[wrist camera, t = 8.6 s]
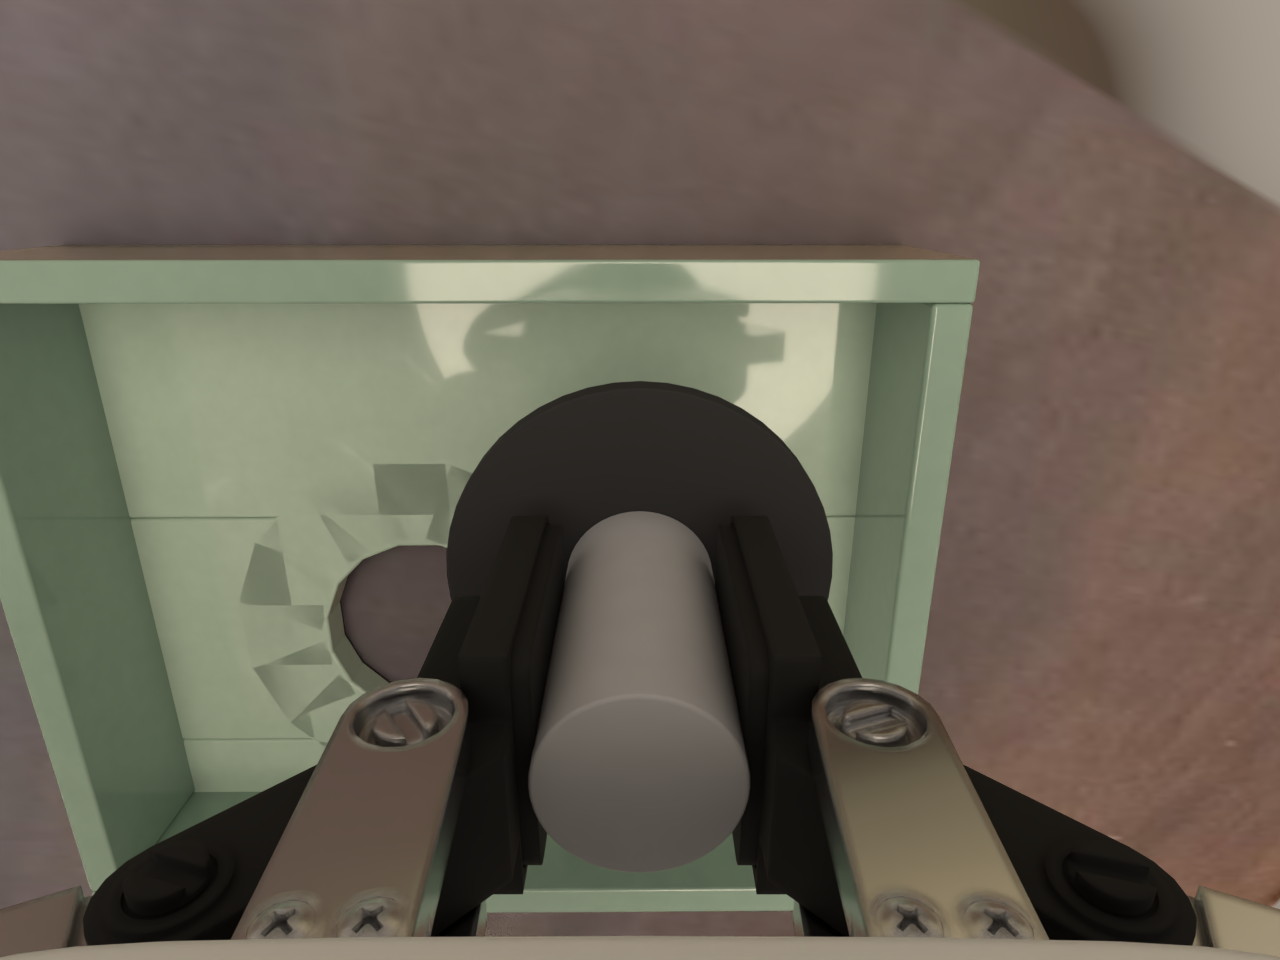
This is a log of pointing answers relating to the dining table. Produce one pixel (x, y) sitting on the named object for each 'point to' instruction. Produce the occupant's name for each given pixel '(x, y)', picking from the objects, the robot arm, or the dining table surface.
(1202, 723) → the dining table surface
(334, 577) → the sink floor
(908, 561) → the sink
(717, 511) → the plug
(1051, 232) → the dining table surface
